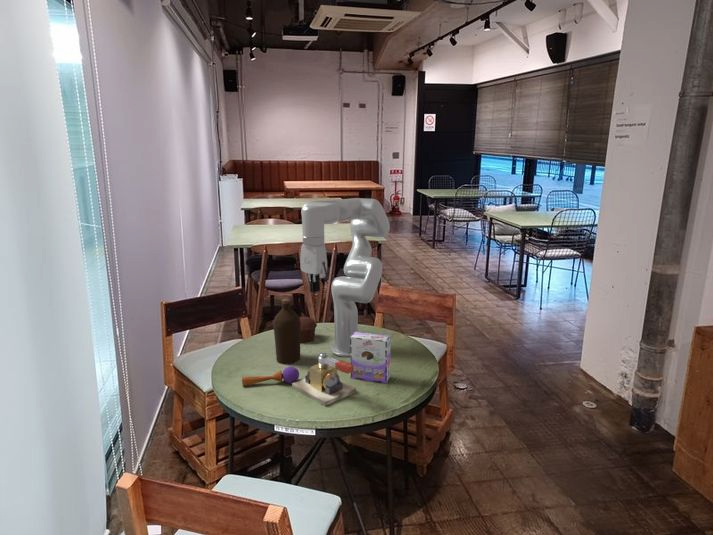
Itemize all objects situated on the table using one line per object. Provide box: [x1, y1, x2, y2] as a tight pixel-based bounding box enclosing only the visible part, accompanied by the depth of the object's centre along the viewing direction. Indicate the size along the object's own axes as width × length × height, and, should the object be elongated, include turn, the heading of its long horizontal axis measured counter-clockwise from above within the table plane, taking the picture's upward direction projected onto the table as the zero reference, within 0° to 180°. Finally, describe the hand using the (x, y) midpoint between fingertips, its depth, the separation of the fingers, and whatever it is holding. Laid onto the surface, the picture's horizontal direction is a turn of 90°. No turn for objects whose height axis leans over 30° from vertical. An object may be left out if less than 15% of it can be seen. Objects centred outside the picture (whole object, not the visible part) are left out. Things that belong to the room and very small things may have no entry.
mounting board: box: [291, 377, 357, 407], centre depth 171 cm, size 14×18×2 cm
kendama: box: [241, 366, 300, 387], centre depth 175 cm, size 6×6×20 cm
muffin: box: [299, 316, 318, 345], centre depth 214 cm, size 12×11×10 cm
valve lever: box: [318, 352, 354, 375], centre depth 165 cm, size 14×3×4 cm, turn 48°
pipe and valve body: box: [304, 363, 343, 395], centre depth 170 cm, size 7×13×7 cm, turn 44°
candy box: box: [349, 331, 391, 384], centre depth 178 cm, size 14×6×16 cm, turn 71°
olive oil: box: [272, 297, 301, 365], centre depth 192 cm, size 11×11×25 cm
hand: (315, 291), depth 175 cm, fingers closed
